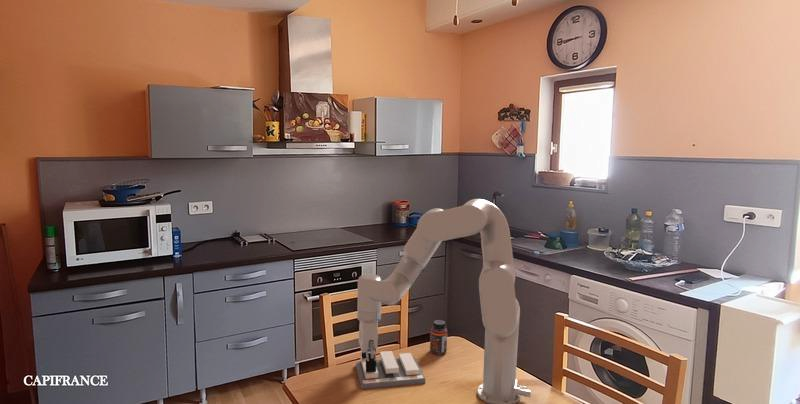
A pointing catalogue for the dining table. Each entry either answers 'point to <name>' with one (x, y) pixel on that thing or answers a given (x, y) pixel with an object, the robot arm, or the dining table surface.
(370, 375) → the switch
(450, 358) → the dining table surface
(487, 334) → the robot arm
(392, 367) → the middle switch
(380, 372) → the switch board
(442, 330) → the supplement bottle
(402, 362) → the switch
